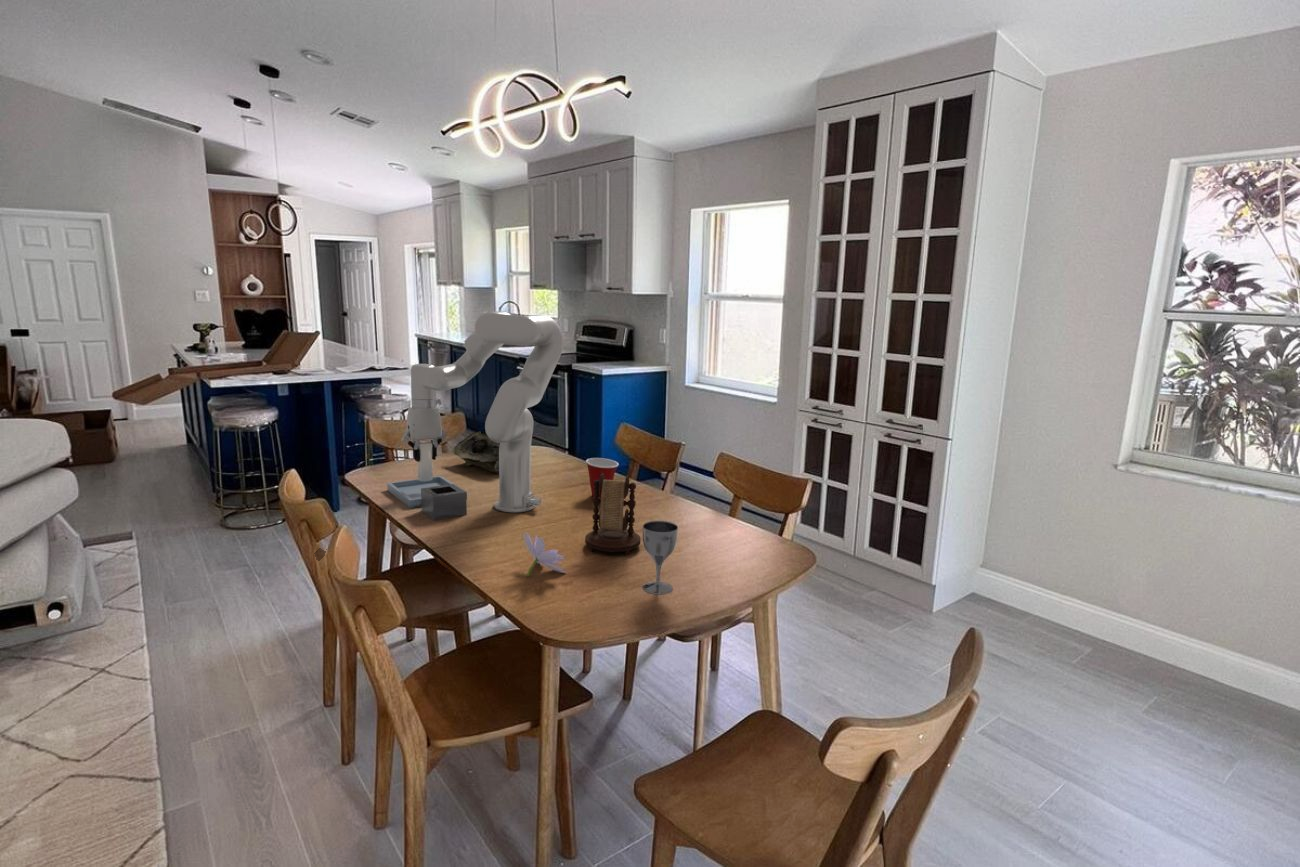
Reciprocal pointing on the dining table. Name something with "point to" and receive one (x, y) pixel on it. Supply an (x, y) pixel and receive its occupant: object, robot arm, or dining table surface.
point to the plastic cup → (600, 470)
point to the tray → (414, 489)
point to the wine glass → (659, 550)
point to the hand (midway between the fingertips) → (425, 459)
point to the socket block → (443, 501)
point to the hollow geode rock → (479, 451)
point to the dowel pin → (425, 461)
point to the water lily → (542, 554)
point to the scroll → (613, 517)
